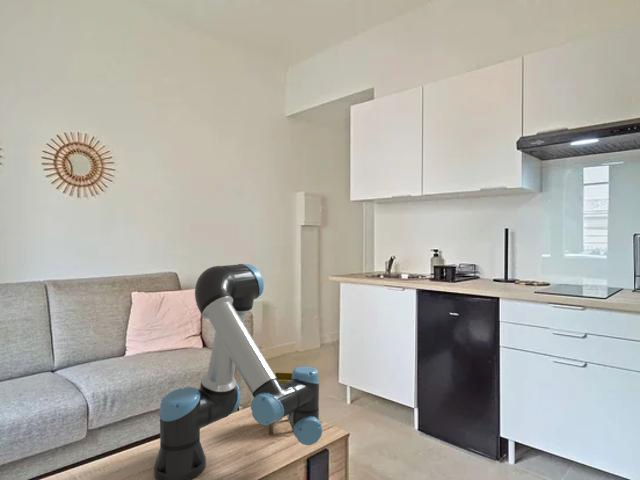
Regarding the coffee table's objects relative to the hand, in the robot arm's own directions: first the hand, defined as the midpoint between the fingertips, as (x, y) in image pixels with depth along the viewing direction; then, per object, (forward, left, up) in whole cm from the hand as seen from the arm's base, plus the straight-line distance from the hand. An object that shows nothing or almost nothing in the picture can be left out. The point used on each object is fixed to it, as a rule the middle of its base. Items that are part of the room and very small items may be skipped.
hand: (285, 385), depth 144 cm
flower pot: (+1, +11, -10) cm, 14 cm away
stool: (0, +10, -19) cm, 22 cm away
